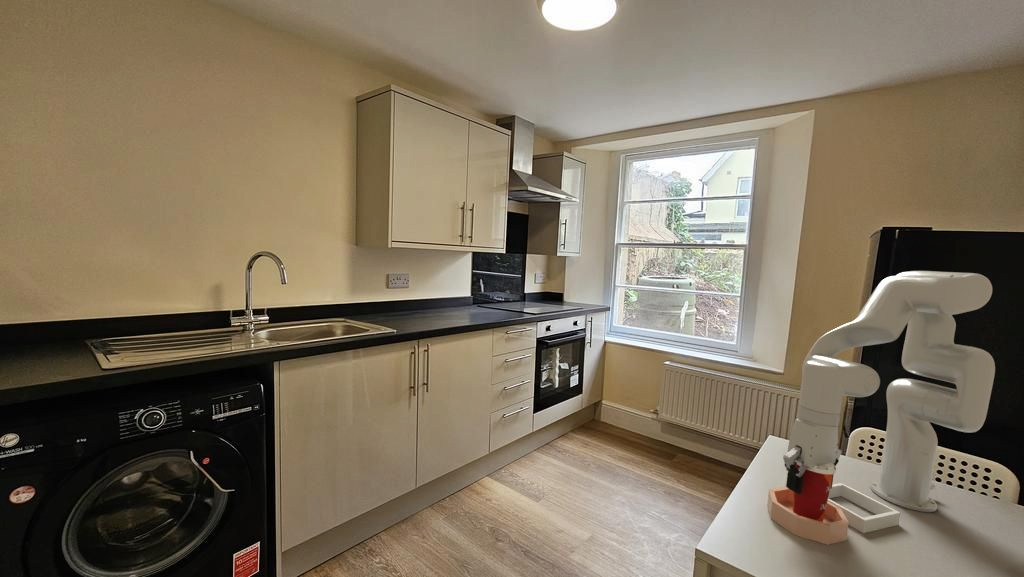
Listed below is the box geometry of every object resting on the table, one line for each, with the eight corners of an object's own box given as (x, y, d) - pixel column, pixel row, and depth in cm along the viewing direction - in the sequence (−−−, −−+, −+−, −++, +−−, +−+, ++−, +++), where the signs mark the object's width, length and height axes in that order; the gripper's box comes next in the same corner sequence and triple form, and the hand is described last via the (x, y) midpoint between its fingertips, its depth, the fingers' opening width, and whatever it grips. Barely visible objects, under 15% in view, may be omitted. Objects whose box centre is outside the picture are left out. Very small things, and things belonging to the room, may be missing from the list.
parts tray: (839, 493, 106) (841, 482, 105) (898, 524, 94) (900, 512, 94) (806, 499, 102) (807, 488, 101) (863, 533, 90) (865, 520, 89)
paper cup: (835, 532, 88) (844, 471, 87) (796, 525, 90) (804, 465, 89) (816, 510, 96) (823, 454, 95) (781, 504, 97) (787, 449, 96)
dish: (795, 499, 101) (797, 484, 101) (858, 537, 88) (861, 519, 88) (754, 507, 97) (756, 491, 97) (814, 547, 84) (816, 529, 83)
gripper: (826, 407, 97) (818, 475, 98) (774, 411, 91) (766, 483, 93) (862, 420, 90) (852, 492, 91) (808, 425, 84) (798, 502, 86)
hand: (808, 488), depth 92 cm, fingers open, 9 cm apart
